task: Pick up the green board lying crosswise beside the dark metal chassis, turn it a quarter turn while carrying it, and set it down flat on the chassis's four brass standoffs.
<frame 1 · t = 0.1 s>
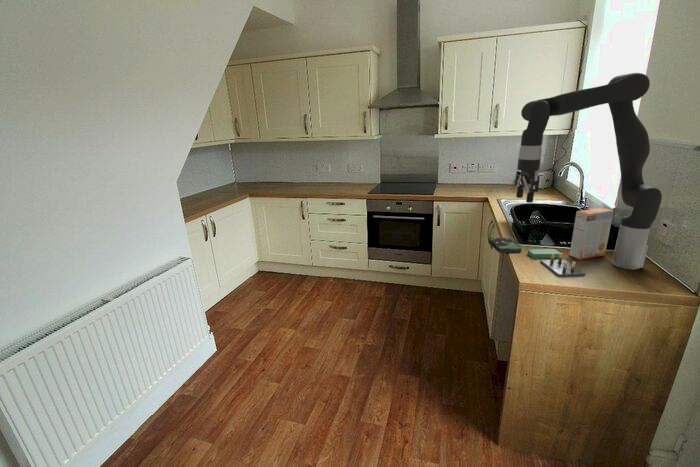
hand: (524, 199, 132), 29 cm above the table, tool pointing down, fingers open, 8 cm apart
disk drive: (503, 248, 164), on the table
chassis: (561, 268, 139), on the table
cracker box: (586, 256, 151), on the table
board: (543, 256, 152), on the table
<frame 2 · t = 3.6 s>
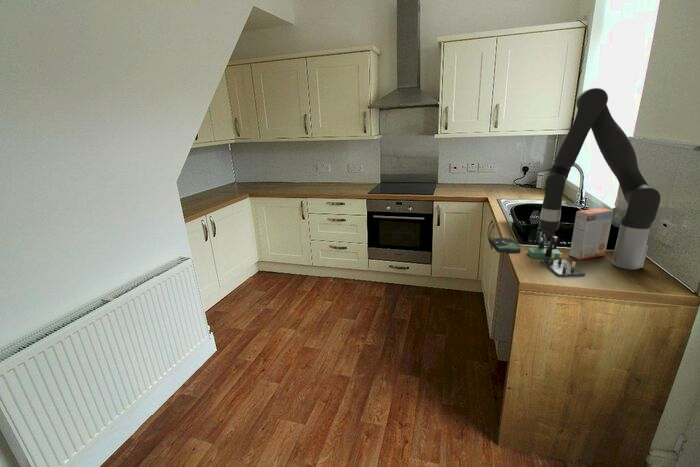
hand: (544, 254, 152), 1 cm above the table, tool pointing down, fingers closed on board, 6 cm apart
board: (544, 256, 152), on the table, touching gripper
everything else where it was.
when the fingers open (7 cm above the table, at t = 8.8 s): board stays where it is, resting on chassis.
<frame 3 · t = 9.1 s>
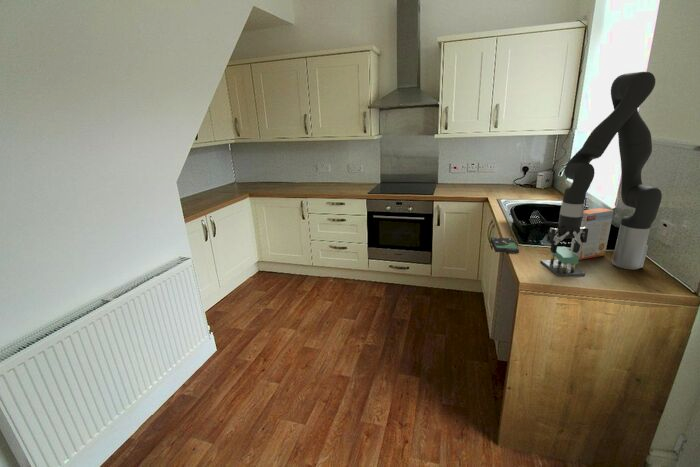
hand: (564, 252, 137), 7 cm above the table, tool pointing down, fingers open, 8 cm apart
board: (563, 257, 137), point 5 cm above the table, touching chassis
everything else where it was.
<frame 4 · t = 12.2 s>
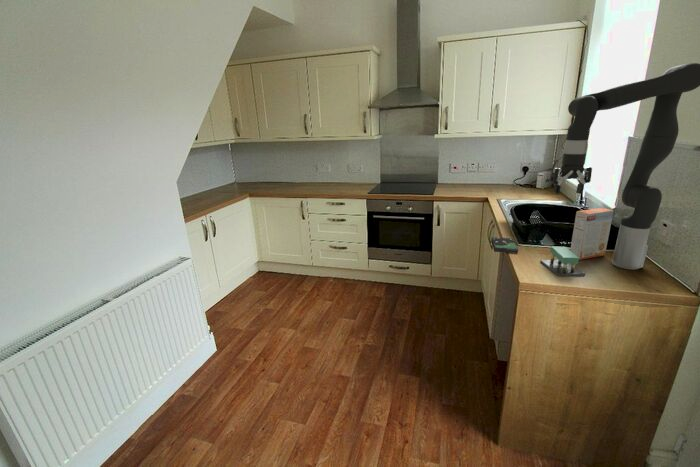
hand: (567, 193, 135), 30 cm above the table, tool pointing down, fingers open, 8 cm apart
nothing on the table moved.
at the end: board 0.0 cm off-centre on the chassis, point 5.0 cm above the chassis's base; board tilted 0°; the gripper is holding nothing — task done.
